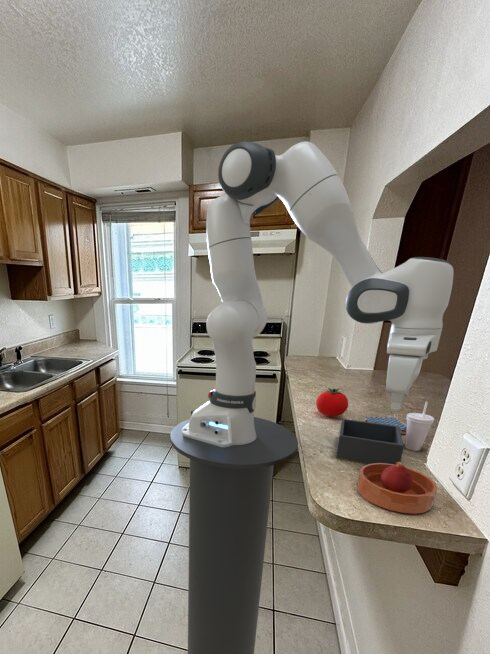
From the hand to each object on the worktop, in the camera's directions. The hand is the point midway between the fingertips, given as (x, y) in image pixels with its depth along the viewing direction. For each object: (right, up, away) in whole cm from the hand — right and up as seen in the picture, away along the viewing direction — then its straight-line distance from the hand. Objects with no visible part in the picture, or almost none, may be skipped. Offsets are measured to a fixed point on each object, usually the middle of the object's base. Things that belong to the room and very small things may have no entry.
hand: (398, 403), depth 79 cm
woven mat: (+20, -7, +37) cm, 42 cm away
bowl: (-2, -21, 0) cm, 21 cm away
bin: (+4, -13, +20) cm, 24 cm away
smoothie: (+19, -12, +22) cm, 32 cm away
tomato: (+7, -3, +48) cm, 49 cm away
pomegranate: (-2, -20, 0) cm, 21 cm away
